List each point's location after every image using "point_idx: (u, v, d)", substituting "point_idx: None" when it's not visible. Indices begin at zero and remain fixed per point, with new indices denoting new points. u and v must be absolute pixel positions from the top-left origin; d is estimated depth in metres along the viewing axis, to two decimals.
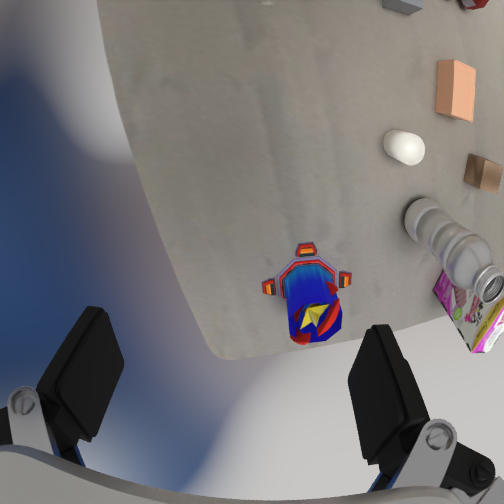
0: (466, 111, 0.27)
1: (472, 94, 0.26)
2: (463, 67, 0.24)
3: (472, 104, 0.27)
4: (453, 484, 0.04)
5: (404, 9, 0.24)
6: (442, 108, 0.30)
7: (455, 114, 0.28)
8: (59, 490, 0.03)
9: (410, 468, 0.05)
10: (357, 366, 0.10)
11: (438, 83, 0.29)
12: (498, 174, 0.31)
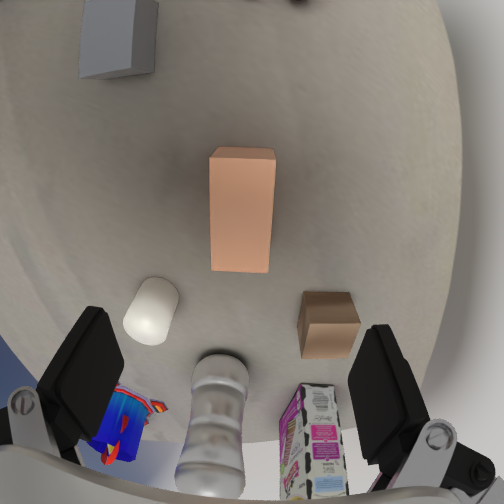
0: (248, 258, 0.20)
1: (264, 221, 0.19)
2: (237, 167, 0.17)
3: (266, 241, 0.20)
4: (453, 484, 0.04)
5: (127, 73, 0.16)
6: None
7: (221, 268, 0.21)
8: (59, 490, 0.03)
9: (410, 468, 0.05)
10: (357, 365, 0.10)
11: None
12: (348, 336, 0.24)
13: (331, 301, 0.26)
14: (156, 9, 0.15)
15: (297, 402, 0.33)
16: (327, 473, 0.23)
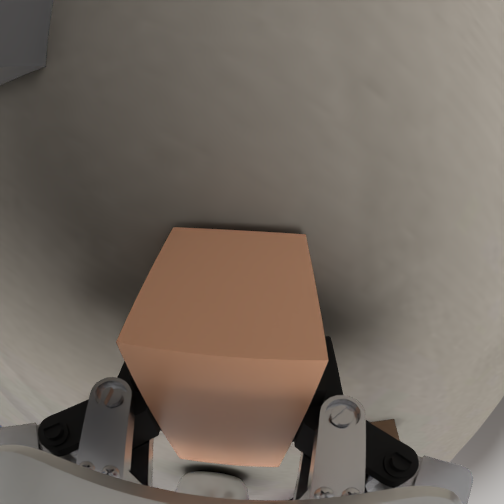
0: (244, 459, 0.09)
1: (278, 436, 0.07)
2: (203, 372, 0.05)
3: (279, 450, 0.08)
4: None
5: None
6: None
7: (197, 460, 0.09)
8: (59, 490, 0.03)
9: (323, 455, 0.05)
10: None
11: None
12: None
13: None
14: None
15: None
16: None
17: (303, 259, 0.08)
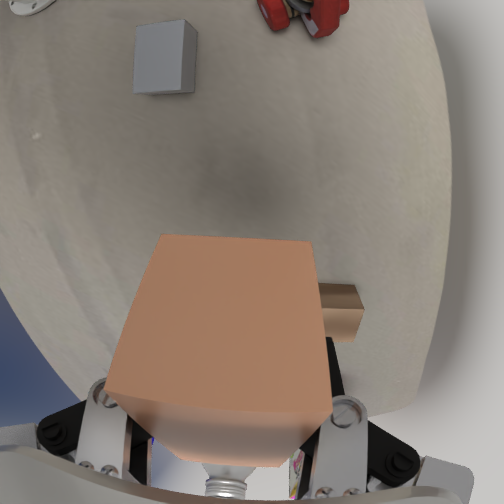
0: (245, 463, 0.09)
1: (279, 452, 0.07)
2: (198, 416, 0.05)
3: (279, 459, 0.08)
4: None
5: (172, 92, 0.21)
6: None
7: (198, 461, 0.09)
8: (59, 490, 0.03)
9: (325, 455, 0.05)
10: None
11: None
12: (353, 320, 0.28)
13: (339, 291, 0.30)
14: (196, 37, 0.20)
15: None
16: None
17: (308, 277, 0.07)
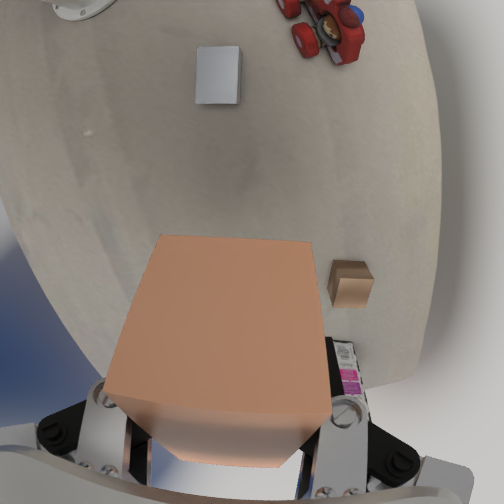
0: (244, 463, 0.09)
1: (278, 453, 0.07)
2: (197, 418, 0.05)
3: (278, 460, 0.08)
4: None
5: None
6: None
7: None
8: (59, 490, 0.03)
9: (325, 455, 0.05)
10: None
11: None
12: (365, 289, 0.35)
13: (353, 266, 0.37)
14: (241, 58, 0.26)
15: None
16: None
17: (308, 278, 0.07)
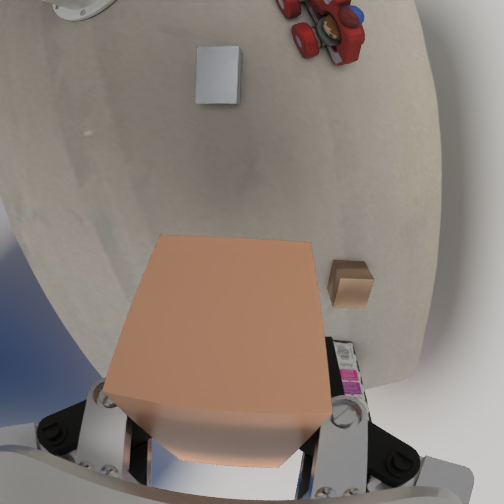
0: (244, 463, 0.09)
1: (278, 453, 0.07)
2: (197, 418, 0.05)
3: (278, 460, 0.08)
4: None
5: None
6: None
7: None
8: (59, 490, 0.03)
9: (325, 455, 0.05)
10: None
11: None
12: (365, 289, 0.35)
13: (353, 266, 0.37)
14: (241, 58, 0.26)
15: None
16: None
17: (308, 278, 0.07)
